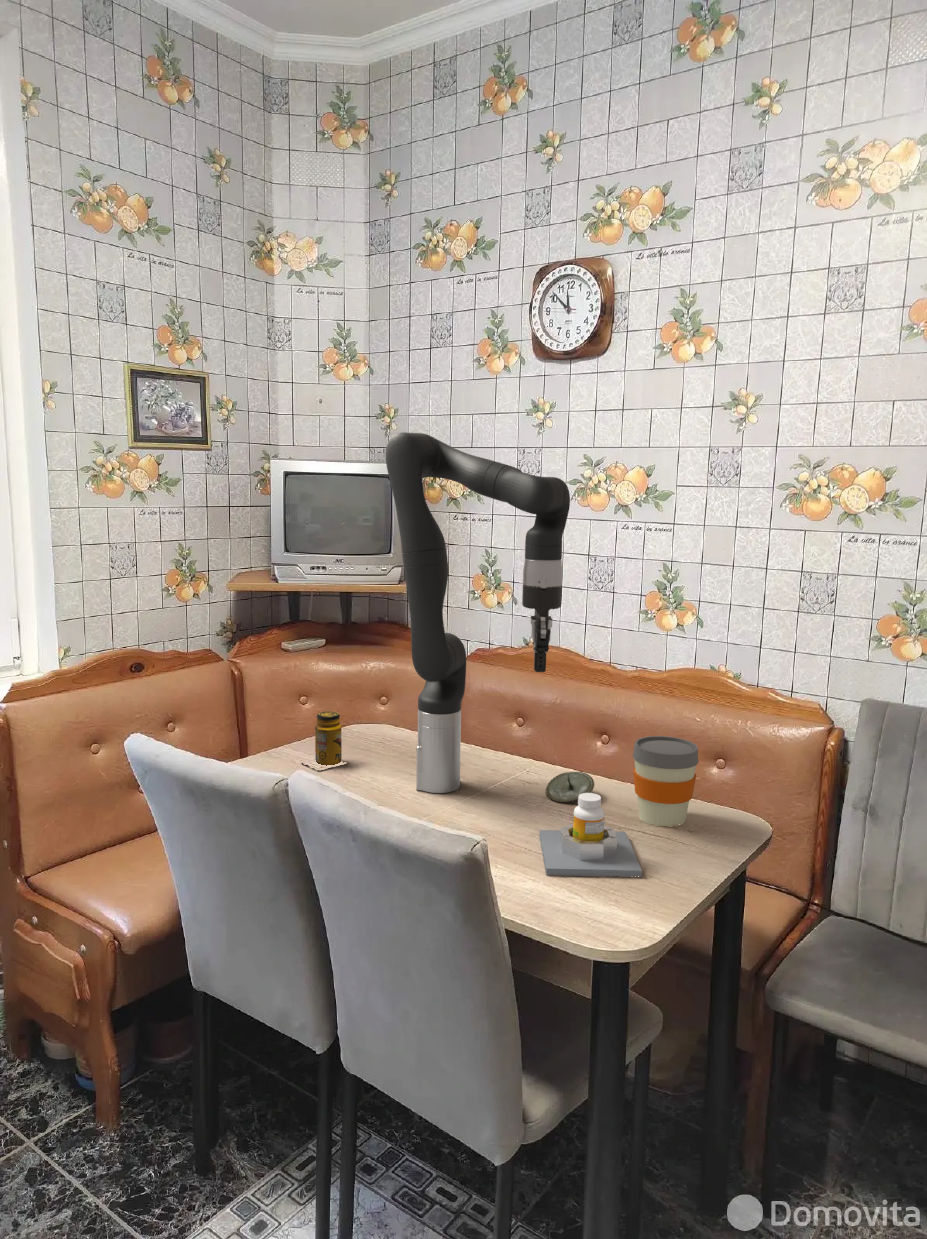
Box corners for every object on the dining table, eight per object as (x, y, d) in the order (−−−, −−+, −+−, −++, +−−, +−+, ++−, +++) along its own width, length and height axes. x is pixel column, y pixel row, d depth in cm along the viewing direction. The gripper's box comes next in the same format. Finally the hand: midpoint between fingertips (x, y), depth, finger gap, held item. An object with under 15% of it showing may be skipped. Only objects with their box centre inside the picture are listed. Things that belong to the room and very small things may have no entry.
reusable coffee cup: (617, 811, 170) (620, 739, 167) (668, 802, 175) (672, 732, 172) (654, 834, 158) (658, 758, 156) (708, 825, 163) (713, 750, 161)
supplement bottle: (569, 843, 151) (571, 791, 150) (598, 842, 152) (600, 790, 150) (576, 856, 146) (578, 802, 144) (606, 855, 146) (608, 802, 145)
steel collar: (563, 860, 144) (564, 843, 144) (558, 837, 153) (559, 821, 153) (619, 861, 144) (620, 844, 143) (610, 838, 153) (611, 822, 153)
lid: (604, 797, 177) (605, 774, 176) (573, 809, 170) (574, 785, 170) (565, 784, 185) (566, 762, 184) (535, 794, 178) (535, 772, 177)
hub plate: (546, 875, 141) (546, 868, 141) (539, 835, 157) (539, 829, 157) (641, 877, 141) (642, 870, 141) (625, 837, 157) (625, 831, 156)
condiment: (349, 764, 195) (349, 714, 194) (318, 772, 190) (318, 720, 188) (331, 756, 201) (330, 707, 199) (300, 764, 195) (300, 714, 193)
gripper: (521, 578, 167) (518, 663, 170) (524, 586, 154) (522, 678, 157) (558, 579, 167) (555, 664, 170) (565, 587, 154) (562, 679, 157)
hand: (539, 671), depth 163 cm, fingers closed
